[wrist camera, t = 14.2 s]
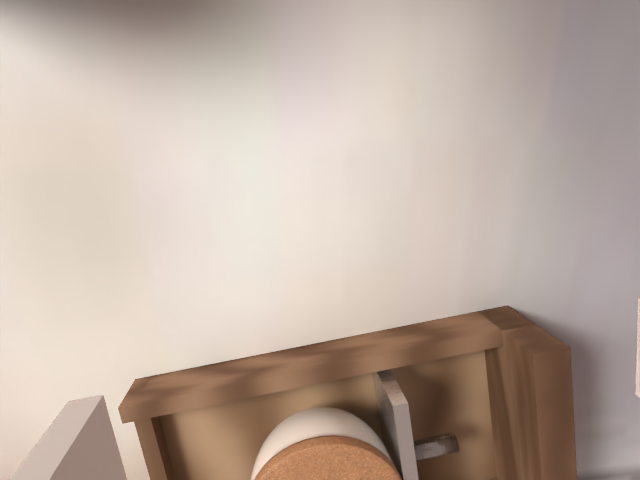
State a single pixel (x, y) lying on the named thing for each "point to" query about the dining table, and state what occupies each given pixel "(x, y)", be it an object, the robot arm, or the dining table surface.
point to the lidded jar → (323, 449)
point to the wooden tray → (375, 399)
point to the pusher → (405, 429)
